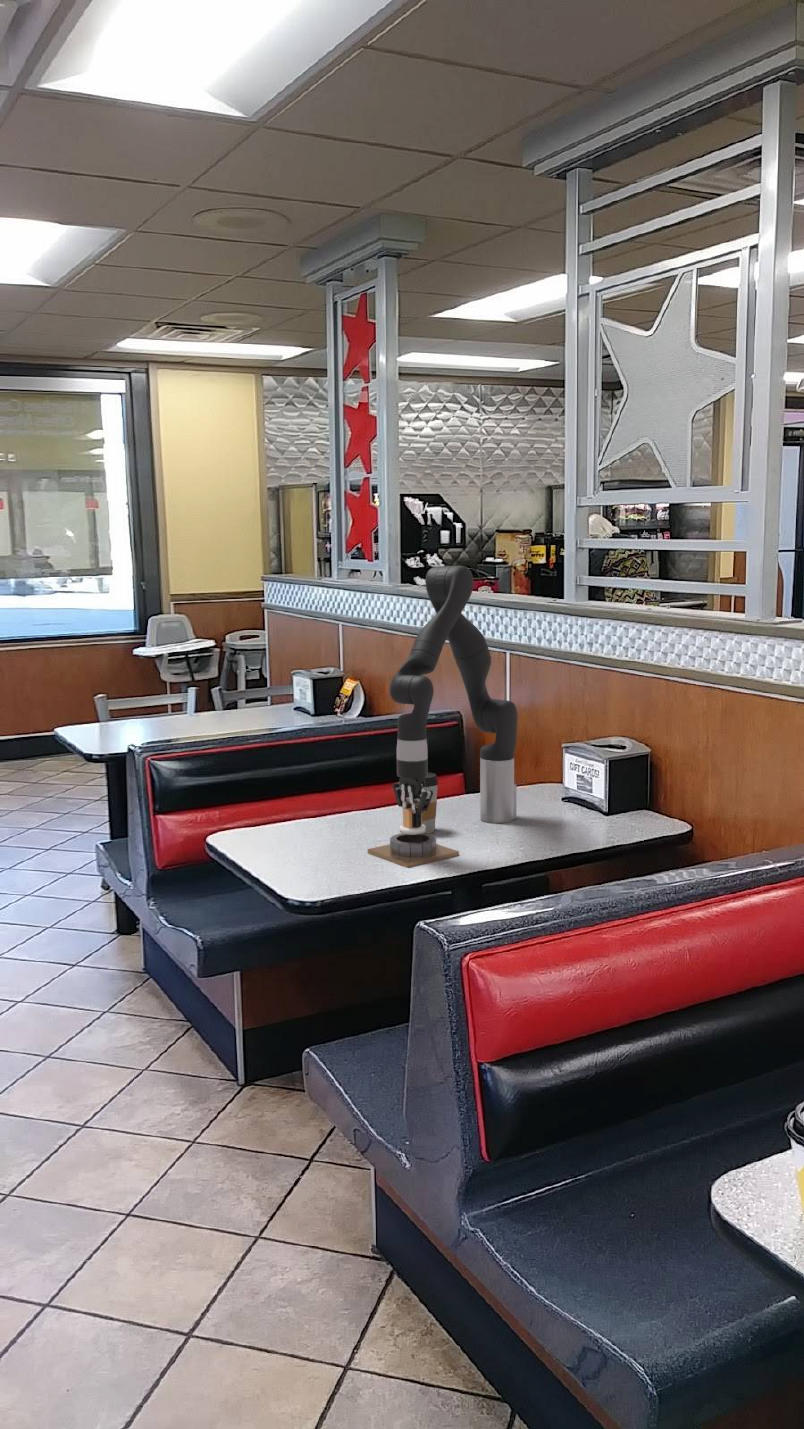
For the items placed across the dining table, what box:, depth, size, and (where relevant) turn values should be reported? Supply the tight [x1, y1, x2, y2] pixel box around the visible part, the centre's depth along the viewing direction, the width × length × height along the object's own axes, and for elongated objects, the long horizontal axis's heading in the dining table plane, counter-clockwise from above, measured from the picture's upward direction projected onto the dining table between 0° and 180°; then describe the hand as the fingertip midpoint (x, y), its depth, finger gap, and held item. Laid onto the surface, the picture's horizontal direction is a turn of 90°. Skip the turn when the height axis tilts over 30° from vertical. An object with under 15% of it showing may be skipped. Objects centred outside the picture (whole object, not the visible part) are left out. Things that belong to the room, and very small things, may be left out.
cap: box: [398, 807, 426, 835], centre depth 273 cm, size 6×6×6 cm
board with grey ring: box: [367, 833, 460, 868], centre depth 274 cm, size 16×16×4 cm
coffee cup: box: [415, 772, 439, 834], centre depth 295 cm, size 8×8×15 cm
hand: (412, 826), depth 273 cm, fingers closed on cap, 2 cm apart
